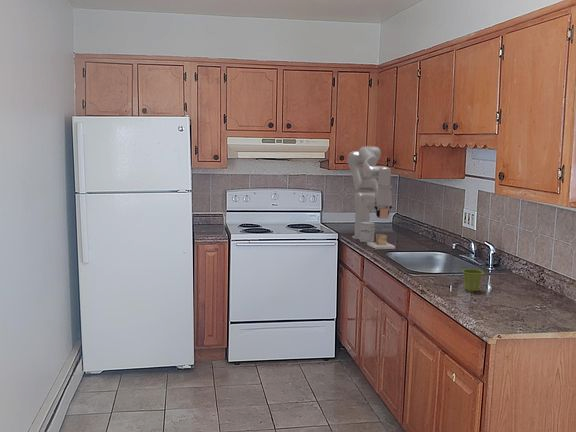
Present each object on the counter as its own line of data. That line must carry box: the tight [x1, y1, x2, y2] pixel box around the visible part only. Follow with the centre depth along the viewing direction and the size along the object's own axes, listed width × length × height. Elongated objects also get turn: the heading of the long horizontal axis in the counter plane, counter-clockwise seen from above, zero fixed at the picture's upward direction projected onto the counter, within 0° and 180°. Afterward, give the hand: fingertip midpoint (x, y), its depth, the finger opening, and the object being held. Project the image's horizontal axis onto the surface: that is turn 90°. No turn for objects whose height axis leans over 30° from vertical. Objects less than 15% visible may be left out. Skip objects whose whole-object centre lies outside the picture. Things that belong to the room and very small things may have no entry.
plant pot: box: [461, 268, 484, 292], centre depth 278 cm, size 9×9×9 cm
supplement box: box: [359, 221, 376, 244], centre depth 398 cm, size 7×7×13 cm
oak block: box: [375, 233, 388, 245], centre depth 382 cm, size 5×5×6 cm
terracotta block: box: [376, 207, 389, 220], centre depth 379 cm, size 5×5×6 cm
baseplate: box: [366, 241, 396, 250], centre depth 382 cm, size 14×13×2 cm
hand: (382, 216), depth 380 cm, fingers closed on terracotta block, 5 cm apart
